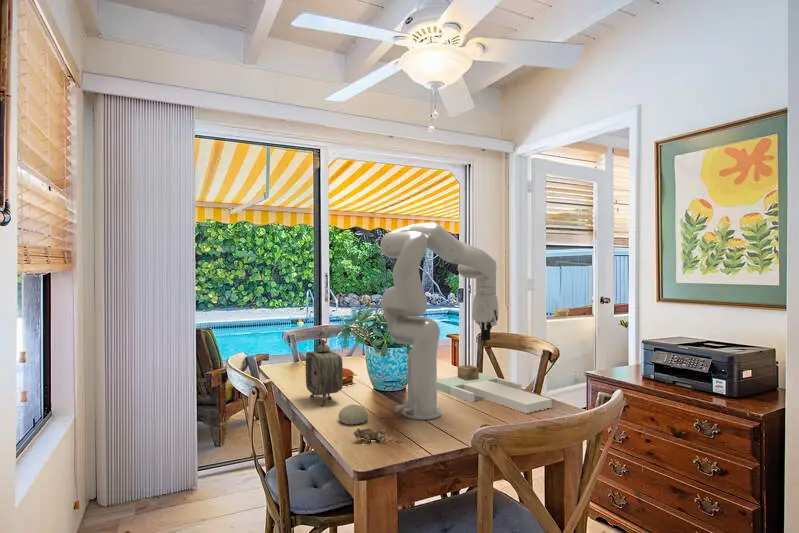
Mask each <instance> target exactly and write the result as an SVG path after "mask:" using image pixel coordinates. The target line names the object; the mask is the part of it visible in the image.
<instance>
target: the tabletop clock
mask: <svg viewBox="0 0 799 533" xmlns="http://www.w3.org/2000/svg"><path fill="white" fill-rule="evenodd" d="M322 334H323V335H324V337H325V339H322V338H321V337H322ZM318 337H319V342H320V343H321V344H318V346H317V347H316V349H315V351H307V352H306V355H305V386H306V389H307V390H308V391H309V392H310V393H311V394H310V396H309V398H310V399H311V398H313V399H314V398H315V396H322V399H321V401H320V403H319V405H320V406H321V405H322V406H321V407H324V406H325V399H326V398H327V399H326V400H327V401H328V400H331V401H332V400H333V399H332V396H330V394H337V393H338V392H340V391H342V389H343V387H342V385H343V368H344V367H343V358H342V356H341V355H340V354H338V353H336V352H335V351H332V350H331V348H330V346H329V345H328V344H327V342H328V336H327V333H326V332H325V331H320V332H319V336H318ZM326 396H327V397H326ZM323 405H324V406H323Z"/></svg>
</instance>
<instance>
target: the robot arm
mask: <svg viewBox="0 0 799 533" xmlns="http://www.w3.org/2000/svg"><path fill="white" fill-rule="evenodd" d="M427 249H429V251H432V252H433V253H434V254H435V255H437V256H438V257H439V258H441V259H442V260H443V261H445V262H447V263H450V264H454V265H457V271H458V274H459V275H460V276H461V277H463V278H464V279H475V294H474V298H473V300H472V302H473V303H472V314H471V315H472V316H471V317H472V320H474V322H475V324H478V326H479V329H480V340H481V341H484V342H485V341H490V340H491V330H492V327H494V326H495V327H496V326H497V325H498V320H499V304H498V303H499V302H498V296H497V261H496V260H495V259H494V258H493V257H492V256H490V254H488V253H487V252H486V251H484V250H483V249H481V248H479V247H476V246H473V245H471V244H469V243H466V242H463V241H461V240H459V239H457V238H456V237H455V236H454V235H452V234H451V233H450V232H449V231H448V230H446V229H445V228H444V227H442V226H441V225H440V224H439V223H437V222H420V223H419V222H418V223H417V222H416V223H412V224H409V225H407V226H403V227H401V228H398V229H395V230H392V231H389V232H387V233H386V234H385V235H383V236H382V238H381V240H380V250H381V252H382V254H383V255H384V256H385V257H387V258H389V259H396V261H395V264H394V266H393V269H392V279H393V280H392V281H393V285H394V286H391V287H388V288H387V289H385V290H384V292H383V294H382V297H381V308H382V311H383V315H384V318H385V322H386V325H387V328H388V332H389V334H390V337H392V339H393V340H394V341H395V342H396V343H398V344H402V345H408V346H412V347H411V349H410V351H409V353H408V357H407V364H406V365H407V400H404V403H403V404H399V405H398V404H397V405H395V406H394V411H395V413H398V412H402V415H403V416H404V417H405V418H408V419H412V420H419V421H420V420H421V421H425V420H427V421H428V420H434V419H437V418H440V417H441V416H442V414H443V413H442V411H443V410H442V409H440V408H439V407H438V398H437V397H438V395H437V394H438V390H437V379H438V378H437V377H438V376H437V375H438V374H437V371H438V370H437V358H438V357H437V356H438V346H439V342H440V333H441V330H440V329H441V328H440V326H439V325H438V323H437V322H436V321H435V320H434V319H432V318H429V317H423V316H422V315H424V314H425V313H426V312H427V310H428V302H427V298H426V294H425V290H424V287H423V283H422V280H421V275H420V265H421V262H422V259H423V258H424V255H425V253H426V251H427ZM421 316H422V317H421Z"/></svg>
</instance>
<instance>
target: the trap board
mask: <svg viewBox="0 0 799 533" xmlns="http://www.w3.org/2000/svg"><path fill="white" fill-rule="evenodd" d="M522 388H523V385H522V384H521V383H518V382H515V381H511V380H507V379H504V378H500V377H496V376H494V375H493V376H492V375H489V374H486V373H484V372H483V373H482V372H479V379H475V380H468V381H466V380H463V379H460V378H458V375H456V376H450V377H445V378H437V391H439V390H440V392H442V393H444V392H445V394H447V393H448V395H450V394H451V396H453V397H455V396H456V398H458V397H459V398H458V399H461V398H462V399H461V400H464V399H465V401H466V400H467V402H469V401H470V403H475V402H479V401H478V400H480V401H483V400H482V399H487V400H486V401H488V400H490V401H489V402H491V401H492V403H494V402H495V403H494V404H497V403H498V404H497V405H500V404H501V405H500V406H502V405H504V406H503V407H505V406H506V408H508V407H509V409H511V408H512V410H514V409H515V410H514V411H517V410H518V411H517V412H520V411H521V412H520V413H523V412H524V413H523V414H526V413H528V414H531V413H530V412H532V413H535V412H534V411H537V412H540V411H539V410H541V411H544V409H545V410H548V409H547V408H549V409H552V408H553V407H552V405H553V404H552V403H553V400H552V398H549V397H546V396H542V395H540V394H535V393H532V392H529V391H525V390H523V389H522ZM474 401H475V402H474Z"/></svg>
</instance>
